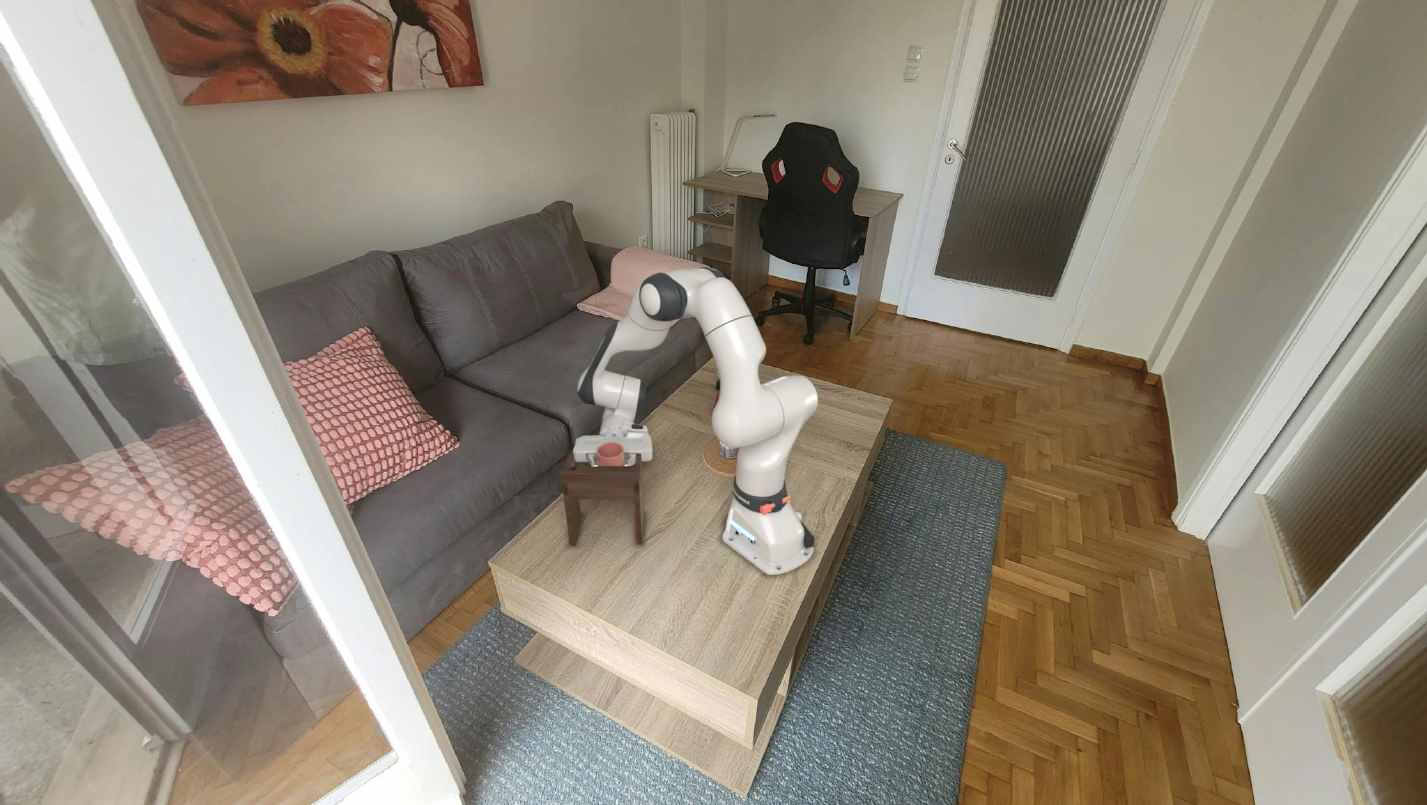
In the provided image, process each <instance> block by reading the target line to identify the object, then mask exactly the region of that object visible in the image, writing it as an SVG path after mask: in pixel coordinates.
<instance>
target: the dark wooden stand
mask: <svg viewBox="0 0 1427 805" xmlns="http://www.w3.org/2000/svg"><path fill="white" fill-rule="evenodd" d="M559 476H560V482H561V490H562V496H563V501H564V502H563V503H564V510H565V518H566V525H567V532H568V538H569V546H571V547H574V546H575V547H576V546H577V539H578V535H579V531H580V525H581V520H582V509H581V501H580V500H623V499H624V500H625V499H627V500H629V499H632V500H633V499H634V514H635V534H636V545H643V538H644V537H643V536H644V523H645V522H644V520H645V519H644V518H645V507H644V485H643V484H644V483H643V461H642V457H641V454H636V461H635V464H634V465H632V466H591V465H590V466H585V465H584V466H576V461H575V458H574V454H573V453H572V454H571V453H570V454H568V456H567V460H566V464H565V468H564V469H561V470H560V475H559Z"/></svg>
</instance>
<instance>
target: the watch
mask: <svg viewBox="0 0 1427 805" xmlns="http://www.w3.org/2000/svg"><path fill="white" fill-rule="evenodd" d="M714 369H715V372H716V375H717V376H718V378H719V379H718V380H716V390H717V391H720V377H719V371H718V368H717V365H716V364H715V366H714Z"/></svg>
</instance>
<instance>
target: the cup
mask: <svg viewBox="0 0 1427 805" xmlns="http://www.w3.org/2000/svg"><path fill="white" fill-rule="evenodd" d="M596 454H597V464H598V466H624V464H625V462H624V448H623V446H622V445H620V444H618V443H614V442H608V443H604V444H602V445H600V446H599V447H598V448H597V450H596Z"/></svg>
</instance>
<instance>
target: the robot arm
mask: <svg viewBox="0 0 1427 805" xmlns="http://www.w3.org/2000/svg"><path fill="white" fill-rule="evenodd" d="M693 318H694V319H695V320H696V321H697V323H698V324H699V326H700V328H701V331H702V333H703V335H704V339H705V340H706V341H707V345H708V347H709V349H710V352H711V354H712V357H713V359H714V363H715V366H716V365H717V368H718V371H719V375H718V378H719V377H720V378H719V379H720V390H719V391H720V393H719V392H718V393H719V398H718V401H717V404H716V406H715V408H714V407H713V410H712V413H711V428H712V431H713V433H714V435H715V437H716V439H717V440H718V441H719V442H720V443H722V444H723V445H724V446H726V447H727V448H731V449H737V448H738V451H737V454H736V465H735V466H736V467H735V475H734V477H733V482H732V495H733V497H732V501H731V504H730V507H729V511H728V515H727V518H726V521H725V529H724V531H723V533H722V537H721V541H722V542H723V543H725V544H726V545H727V546H728V547H730V548H731V549H732V550H734V551H735V552H736V553H737V554H739V555H740V556H741V557H742V558H744V559H746V560H747V561H748V562H750V563H751V564H752V565H754V566H755V567H756V568H758V569H759V570H760V571H761V572H763V573H764V574H765V575H767V576H777V575H784V574H786V573H788V572H789V573H790V572H791V571H794V570H795V569H798V568H799V567H801V566H803V565H804V564H805V563H807V562H808V561H809V560H810V559H811V558H812V556H813V555H814V551H815V548H814V545H815V537H814V535H813V533H812V532H811V531H810V530H809V528H807V526H806V525H805V524H804V523H803V522H801V521H802V519H803V515H802V514H801V512H800V511H795V510H794V508H793V506H792V504H791V497H792V495H788V489H787V485H786V480H785V476H786V471H787V464H788V460H789V456H790V453H791V452H792V448H793V446H794V444H795V442H796V440H797V438H798V436H799V434H800V433H801V430H802V429H803V427H804V426H805V424H806V423H807V421H808V420H809V419H810V417H811V416H812V415H813V414H814V413H815V412H816V410H817V408H818V404H819V397H818V392H817V389H816V387H815V386H814V384H813V383H812V381H811V380H810V379H809V378H808V377H806V376H804V375H801V374H794V375H793V374H792V375H785V376H780V377H777V378H774V379H771V380H769V381H766V382H763V383H761V381H760V377H759V376H760V375H759V367H760V365H761V363H762V362H763V361H764V359H765V357H766V354H767V346H766V343H765V341H764V340H763V339H764V338H763V337H762V334H761V332H760V330H759V328H758V326H757V323H756V321H755V319H754V317H753V315H752V313H751V311H750V308H749V307H748V304H747V303H746V301H745V299H744V298H743V296H742V295H741V292H739V290H738V289H737V287H736V286H735V285H734V283H733V282H732V281H731V280H730V279H728V278H726V276H725V275H724V274H723V272H721V271H720V270H719V269H716V268H713V267H705V266H703V267H702V266H701V267H698V268H697V267H696V268H695V267H694V268H693V267H692V268H677V269H672V270H668V271H664V272H656V273H650V274H648V275H645V276H643V278H642V279H641V280H640V282H639V284H638V285H637V287H636V289H635V291H634V292H633V296H632V298H631V301H630V303H629V306H628V310H627V313H626V315H625V316H624V317H623V318H622V319H621V320H619V321H618V322H612V323H611V324H610V325H609V327H608V328H607V329H606V331H605V332H604V334H603V336H602V338H601V340H600V342H599V344H598V346H597V348H596V349H595V351H594V354H593V355H592V357H591V359H590V361H589V362H588V365H587V366H586V368H585V369H584V371H583V372H582V374H581V375H580V377H579V380H578V383H577V388H576V391H577V392H576V394H577V395H578V398H580V400H581V401H582V402H583V403H584V404H585V405H592V406H599V407H603V408H604V409H603V413H602V418H601V425H600V428H599V432H598V433H599V434H598V435H597V434H596V435H595V434H594V435H585V434H584V435H581V436H579V437H577V438H576V439H575V441H574V446H573V449H572V454H574V458H575V463H588V464H589V465H590V466H598V464H597V454H596V450H597V448H598V447H599V446H600V445H602V444H604V443H608V442H614V443H618V444H620V445H622V446H623V448H624V462H625V464H624V466H634V465H635V461H636V454H641V457H642V462H650V461H652V460H653V458H654V457H653V456H654V455H653V454H654V453H653V452H654V451H653V442H652V437H651V435H650V433H649V428H648V426H646V425H644V424H638V423H635V421H636V420H637V419H638V418H640V417H642V415H643V413H644V410H645V406H646V401H647V391H648V390H647V386H646V385H645V383H644V381H643V380H642V379H640V378H637V377H633V376H629V375H625V374H622V373H621V374H620V373H617V372H612V371H609V370H606V367H607V366H608V364H609V362H610V360H611V358H612V357H613V356H614V355H616V354H618V353H624V352H645V351H649V350H653V349H656V348H657V347H659V346H660V345H662V344H663V342H665V340H666V338H667V336H668V334H669V332H670V329H671V326H672V323H673V321H676V320H684V319H693Z"/></svg>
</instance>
